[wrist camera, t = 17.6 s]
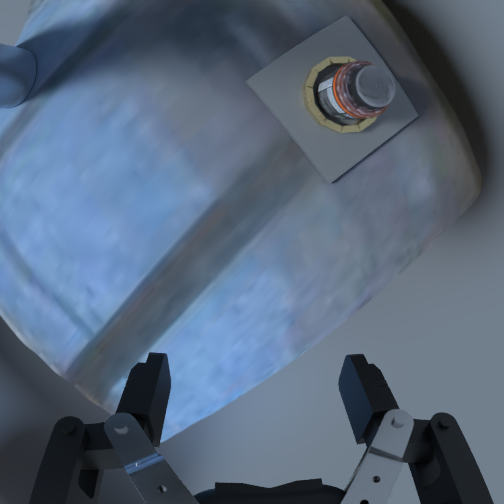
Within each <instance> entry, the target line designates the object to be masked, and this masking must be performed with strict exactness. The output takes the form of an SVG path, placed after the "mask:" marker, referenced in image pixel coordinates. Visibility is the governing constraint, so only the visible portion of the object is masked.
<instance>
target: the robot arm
mask: <svg viewBox="0 0 504 504" xmlns="http://www.w3.org/2000/svg"><path fill="white" fill-rule="evenodd" d="M35 76H36V60H35V58H34V55H33V54H32V53H31V52H30V51H29V50H27V49H23V48H18V47H14V46H10V45H5V44H1V43H0V108H12V107H15V106H17V105H19V104H20V103H21V102H22V101H23V100H24V99H25V98H26V97H27V95H28V94H29V92H30V90H31V88H32V86H33V84H34V80H35ZM170 389H171V376H170V370H169V364H168V357H167V354H165V353H153V352H150V353H149V355H148V358H147V361H146V363H139V362H138V363H137V364H136V365H135V366H134V367H133V368H132V369H131V371H130V374H129V377H128V380H127V382H126V387H125V388H124V391H123V394H122V396H121V399H120V402H119V405H118V408H117V411H116V413H115V414H113V415H111V416H110V417H108V418H107V419H106V421H105V422H103V423H96V424H84V423H83V422H82V421H81V420H80V419H79V418H76V417H72V416H70V417H64V418H62V419H60V420H59V421H58V422H57V423H56V424H55V426H54V429H53V432H52V434H51V437H50V440H49V442H48V445H47V448H46V451H45V454H44V456H43V459H42V462H41V466H40V468H39V472H38V475H37V478H36V481H35V484H34V488H33V491H32V494H31V498H30V502H29V504H97V503H98V498H99V491H100V487H101V482H102V476H103V471H104V469H115V468H125V470H126V472H127V473H128V475H129V477H130V479H131V480H132V482H133V483H134V485H135V487H136V488H137V490H138V491H139V493H140V495H141V496H142V498H143V499H144V501H145V502H146V504H386V503H387V501H388V499H389V497H390V494H391V492H392V490H393V487H394V485H395V483H396V481H397V478H398V476H399V473H400V470H401V468H402V465H403V462H405V463H408V465H409V468H410V471H411V473H412V477H413V480H414V483H415V486H416V489H417V493H418V496H419V499H420V503H421V504H494V503H493V501H492V498H491V496H490V493H489V491H488V488H487V486H486V484H485V481H484V479H483V476H482V474H481V472H480V470H479V467H478V465H477V463H476V461H475V458H474V456H473V454H472V452H471V450H470V448H469V446H468V444H467V442H466V439H465V437H464V435H463V433H462V431H461V429H460V427H459V425H458V423H457V421H456V420H455V418H454V417H453V416H451V415H450V414H447V413H442V412H441V413H437V414H435V415H434V416H433V417H432V418H431V420H418V419H413V418H412V416H411V415H410V414H409V413H408V412H406V411H403V410H400V409H399V407H398V405H397V402H396V400H395V398H394V396H393V394H392V392H391V390H390V388H389V387H388V384H387V382H386V380H385V378H384V376H383V374H382V372H381V370H380V369H378V368H377V367H376V366H375V365H374V364H368V362H367V360H366V358H365V356H364V355H363V354H353V355H347V356H346V357H345V360H344V364H343V367H342V371H341V374H340V377H339V391H340V394H341V397H342V400H343V403H344V406H345V409H346V412H347V415H348V418H349V421H350V424H351V427H352V430H353V433H354V436H355V439H356V442H357V444H362V443H366V446H367V448H366V450H365V452H364V454H363V456H362V458H361V460H360V462H359V464H358V466H357V468H356V469H355V471H354V473H353V475H352V477H351V478H350V480H349V482H348V483H347V485H346V487H345V488H344V490H342V489H339V488H337V487H333V486H329V485H323V484H322V479H321V478H320V479H310V480H300V481H294V482H291V483H287V484H284V485H280V486H277V487H273V488H265V487H259V486H254V485H249V484H244V483H217V482H216V483H215V489H209V490H206V491H203V492H201V493H198V494H196V495H194V496H193V495H192V494H191V493H190V491H189V490H188V489H187V488H186V486H185V485H184V484H183V482H182V481H181V480H180V479H179V477H178V476H177V475H176V473H175V472H174V471H173V469H172V468H171V467H170V465H169V464H168V463H167V461H166V460H165V458H164V457H163V456H162V455H159V454H158V452H157V451H156V449H155V448H154V447H159V445H160V440H161V435H162V429H163V424H164V419H165V414H166V409H167V404H168V399H169V395H170Z"/></svg>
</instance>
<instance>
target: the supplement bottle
mask: <svg viewBox="0 0 504 504" xmlns="http://www.w3.org/2000/svg"><path fill="white" fill-rule="evenodd" d="M395 93H396V87H395V82H394V80H393V78H392V76H391V75H390V74H389V72H388V71H387V70H385V69H384V68H382V67H380V66H376V65H375V64H373V63H371V62H367V61H362V60H360V61H353V62H350V63H348V64H346V65H344V66H342V67H340V68H339V69H337V70H335V71H333V72H332V73H329V74H328V75H326V76H325V77H324V78H323V79H322V80H321V81H320V83H319V85H318V88H317V99H318V102H319V104H320V106H321V108H322V109H323V110H324V111H325V112H326V113H327V114H328V115H330V116H332V117H334V118H337V119H367V118H373V117H376V116H379V115H381V114H382V113H383V112H384V111H385V110H386V109H387V108H388V106H389V105H390V103H391V102H392V101H393V99H394V97H395Z"/></svg>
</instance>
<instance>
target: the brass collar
mask: <svg viewBox="0 0 504 504" xmlns="http://www.w3.org/2000/svg"><path fill="white" fill-rule="evenodd" d="M353 61H357V60H355V59H353V58H351V57H349V56H348V57H328V58H327V59H325V60H323V61H322V62H320V63H319V64H317V65H316V66H315V67H313V68H312V69H310V70H309V72H308V74H307V77H306V79H305V81H304V84H303V86H302V93H303V99H304V105H305V109H306V110H307V111H308V112H309V114H310V115H311V116H312V118H313V119H314V120H315V121H316V123H317V124H318V125H320V126H323V127H325V128H327V129H329V130H331V131H334V132H336V133H348V132H360V131H362V130H363V129H365V128H366V127H367V126H369V125H370V124H371V123H373V122H374V121H375V120H376V118H377V116H376V117H373V118H367V119H360V120H358V121H357V122H356V123H354V124H353V125H344V126H341V125H338V124H336V123H334V122H332V121H330V120H328V119H326V118H325V117H324V115H323V114H322V113H321V111H320V110H319V109H318V107H317V106H316V105H315V100H314V94H313V88H312V87H313V85H314V82H315V80H316V77H317V75H318V72H320V71H321V70H323V69H324V68H326V67H327V66H344V65H346V64H348V63H350V62H353Z"/></svg>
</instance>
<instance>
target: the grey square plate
mask: <svg viewBox="0 0 504 504" xmlns="http://www.w3.org/2000/svg"><path fill="white" fill-rule="evenodd" d="M348 56H349V57H351V58H353V59H355V60H357V61H360V60H362V61H367V62H371V63H373V64H375V65H376V66H380V67H382V68H384V69H385V70H387V71H388V72H389V74H390V75H391V76H392V78H393V80H394V82H395V87H396V93H395V97H394V99H393V101H392V102H391V103H390V105H389V106H388V108H387V109H386V110H385V111H384V112H383V113H382V114H381V115H379V116H377V118H376V120H375V121H374V122H373V123H371V124H370V125H369V126H367V127H366V128H365V129H363V130H362V131H360V132H348V133H336V132H334V131H331V130H329V129H327V128H325V127H323V126H320V125H318V124H317V123H316V121H315V120H314V119H313V118H312V116H311V115H310V114H309V112H308V111H307V110H306V109H305V105H304V99H303V93H302V86H303V84H304V81H305V79H306V77H307V74H308V72H309V70H310V69H312V68H313V67H315V66H316V65H317V64H319V63H320V62H322V61H323V60H325V59H327V58H328V57H348ZM340 67H342V66H327V67H326V68H324V69H323V70H321V71H320V72H318V75H317V77H316V80H315V82H314V85H313V87H312V88H313V94H314V100H315V105H316V106H317V107H318V109H319V110H320V111H321V113H322V114H323V115H324V117H325V118H326V119H328V120H330V121H332V122H334V123H336V124H338V125H341V126H344V125H353V124H354V123H356V122H357V121H358V120H360V119H337V118H334V117H332V116H330V115H328V114H327V113H326V112H325V111H324V110H323V109H322V108H321V106H320V104H319V102H318V99H317V88H318V85H319V83H320V81H321V80H322V79H323V78H324V77H325V76H326V75H328V74H329V73H332V72H333V71H335V70H337V69H339V68H340ZM245 83H246V84H247V85H248V86H249V87H250V88H251V90H252V91H253V92H254V93H255V94H256V95H257V96H258V98H259V99H260V100H261V101H262V102H263V103H264V105H265V106H266V107H267V108H268V109H269V110H270V112H271V113H272V114H273V115H274V116H275V118H276V119H277V120H278V121H279V122H280V124H281V125H282V126H283V127H284V129H285V130H286V131H287V132H288V134H289V135H290V136H291V137H292V139H293V140H294V141H295V142H296V144H297V145H298V146H299V147H300V149H301V150H302V151H303V153H304V154H305V155H306V156H307V158H308V159H309V160H310V162H311V163H312V164H313V166H314V167H315V168H316V170H317V171H318V172H319V174H320V175H321V176H322V178H323V179H324V180H325V182H326V183H327V184H328V185H329V184H331V183H332V182H333V181H334V180H336V179H337V178H338V177H340V176H341V175H342V174H343V173H345V172H346V171H347V170H349V169H350V168H351V167H353V166H354V165H355V164H356V163H358V162H359V161H360V160H362V159H363V158H364V157H366V156H367V155H368V154H369V153H371V152H372V151H373V150H375V149H376V148H377V147H379V146H380V145H381V144H382V143H384V142H385V141H386V140H388V139H389V138H390V137H392V136H393V135H394V134H395V133H397V132H398V131H399V130H401V129H402V128H403V127H405V126H406V125H407V124H408V123H410V122H411V121H412V120H414V119H415V118H416V117H418V116H419V115H418V113H417V112H416V110H415V108H414V107H413V105H412V103H411V102H410V100H409V98H408V97H407V95H406V94H405V92H404V91H403V89H402V87H401V86H400V84H399V83H398V81H397V80H396V78H395V77H394V76H393V74H392V73H391V71H390V70H389V68H388V67H387V65H386V64H385V63H384V61H383V60H382V59H381V57H380V56H379V54H378V53H377V52H376V50H375V49H374V48H373V47H372V45H371V44H370V43H369V41H368V40H367V39H366V38H365V36H364V35H363V34H362V33H361V31H360V30H359V29H358V28H357V26H356V25H355V24H354V23H353V22H352V21H351V19H350V18H349V17H348V16H347V15H346V16H344V17H342V18H340V19H339V20H337V21H335V22H333V23H332V24H330V25H328V26H327V27H325V28H323V29H322V30H320V31H318V32H317V33H315V34H314V35H312V36H310V37H309V38H307V39H306V40H304V41H303V42H301V43H299V44H298V45H296V46H295V47H293V48H292V49H290V50H289V51H287V52H286V53H284V54H283V55H281V56H280V57H279V58H277V59H276V60H274V61H273V62H271V63H270V64H269V65H267V66H266V67H264V68H263V69H262V70H260V71H259V72H257V73H256V74H255V75H253V76H252V77H251V78H249V79H248V80H247V81H245Z"/></svg>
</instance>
